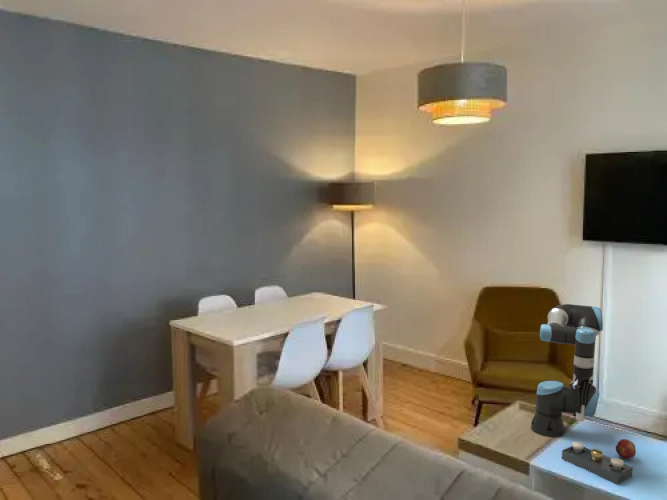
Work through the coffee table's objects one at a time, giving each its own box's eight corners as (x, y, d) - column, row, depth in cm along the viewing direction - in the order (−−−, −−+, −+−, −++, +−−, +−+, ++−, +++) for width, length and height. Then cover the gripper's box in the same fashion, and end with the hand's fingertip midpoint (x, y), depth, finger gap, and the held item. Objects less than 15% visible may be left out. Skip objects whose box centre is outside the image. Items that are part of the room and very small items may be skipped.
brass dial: (588, 457, 226) (589, 450, 226) (594, 455, 229) (595, 447, 229) (598, 462, 223) (599, 454, 223) (604, 459, 225) (605, 451, 225)
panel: (561, 459, 233) (562, 450, 233) (576, 452, 239) (577, 444, 239) (617, 484, 213) (618, 474, 213) (632, 476, 220) (632, 467, 219)
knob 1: (568, 456, 234) (569, 443, 233) (575, 453, 236) (576, 440, 236) (578, 460, 230) (579, 447, 229) (585, 457, 233) (586, 444, 232)
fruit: (634, 464, 230) (636, 446, 229) (614, 459, 234) (615, 441, 233) (635, 457, 237) (637, 439, 236) (615, 452, 241) (617, 434, 240)
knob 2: (607, 473, 220) (608, 459, 219) (613, 470, 222) (614, 456, 222) (618, 478, 216) (619, 464, 215) (625, 475, 219) (626, 461, 218)
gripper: (582, 371, 222) (578, 426, 225) (600, 365, 230) (596, 419, 232) (566, 365, 229) (562, 420, 231) (584, 360, 236) (580, 413, 239)
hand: (579, 419), depth 232 cm, fingers closed
